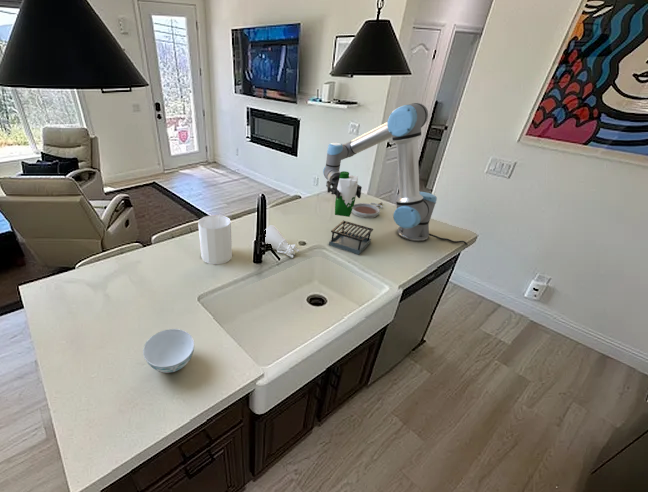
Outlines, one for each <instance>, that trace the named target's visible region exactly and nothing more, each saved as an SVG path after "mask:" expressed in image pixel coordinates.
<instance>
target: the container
mask: <svg viewBox="0 0 648 492" xmlns="http://www.w3.org/2000/svg"><path fill="white" fill-rule="evenodd" d="M197 227H198V236H199V246H200V247H199V248H200V255H201V257H200V258H201V260H202V261H203V262H205V263H207V264H209V265H222V264H226V263H227V262H229V261H230V260H231V259H232V257H233V245H232V244H233V243H232V242H233V241H232V221H231V218H229V217H227V216H226V215H222V214H210V215H205V216H203V217H201V218H200V219H198V222H197Z"/></svg>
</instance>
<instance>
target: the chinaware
mask: <svg viewBox="0 0 648 492" xmlns="http://www.w3.org/2000/svg"><path fill="white" fill-rule="evenodd" d="M194 351H195V340H194V337H193V336H192V334H191V333H189V332H188V331H186V330H184V329H179V328H168V329H164V330H161V331H158V332H156V333H154V334H153V335H152V336H150V337H149V338H148V340H146V341H145V343H144V346H143V348H142V355H143V359H144V360H145V361H146V363H147V364H148V365H149V366H150V368H152V369H153V370H155V371H157V372H159V373H160V372H161V373H166V374H169V373H175V372H177V371H180V370H181V369H183V368H184V367H185V366H186V365H188V364H189V362H190V361H191V358H192V356H193V355H194Z"/></svg>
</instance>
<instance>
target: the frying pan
mask: <svg viewBox="0 0 648 492" xmlns="http://www.w3.org/2000/svg"><path fill="white" fill-rule="evenodd" d="M380 208H383V201H380V202H379V203H376V202H370V203H364V202H359V203H354V206H353V209H352V212H351V214H353V215H354V216H357V217H360V218H365V219H372V218H373V219H374V218H376V217H378V216H379V214H380V213H381V209H380Z"/></svg>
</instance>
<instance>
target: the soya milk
mask: <svg viewBox="0 0 648 492" xmlns="http://www.w3.org/2000/svg"><path fill="white" fill-rule="evenodd" d="M358 180H359V175H352V174H350V172H349V171H340V177H339V183H338V187H337V190H338V191H339V192H340V198H337V197H336V196H335V201H334V216H339V217H348V218H350V217H351V214H352V209H353V206H354V204H356V203H355V202H356V197H357V196H356V192H357V184H358V183H359V181H358Z"/></svg>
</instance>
